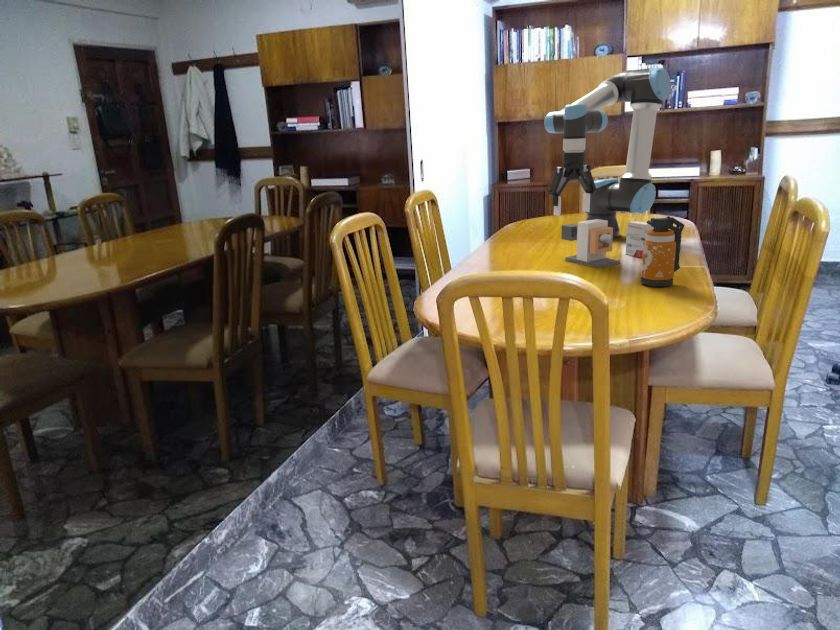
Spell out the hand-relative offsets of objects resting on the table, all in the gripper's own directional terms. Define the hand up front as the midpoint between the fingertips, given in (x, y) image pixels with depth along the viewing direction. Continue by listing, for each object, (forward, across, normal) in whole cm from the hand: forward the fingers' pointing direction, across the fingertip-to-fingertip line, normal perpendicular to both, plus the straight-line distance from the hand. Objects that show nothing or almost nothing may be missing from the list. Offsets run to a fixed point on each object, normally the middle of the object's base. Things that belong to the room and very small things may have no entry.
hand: (571, 213), depth 218 cm
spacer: (+8, 0, +14) cm, 16 cm away
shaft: (+9, 0, +8) cm, 12 cm away
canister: (+16, +6, +44) cm, 47 cm away
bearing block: (+16, 0, +10) cm, 19 cm away
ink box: (+16, -20, +14) cm, 29 cm away
